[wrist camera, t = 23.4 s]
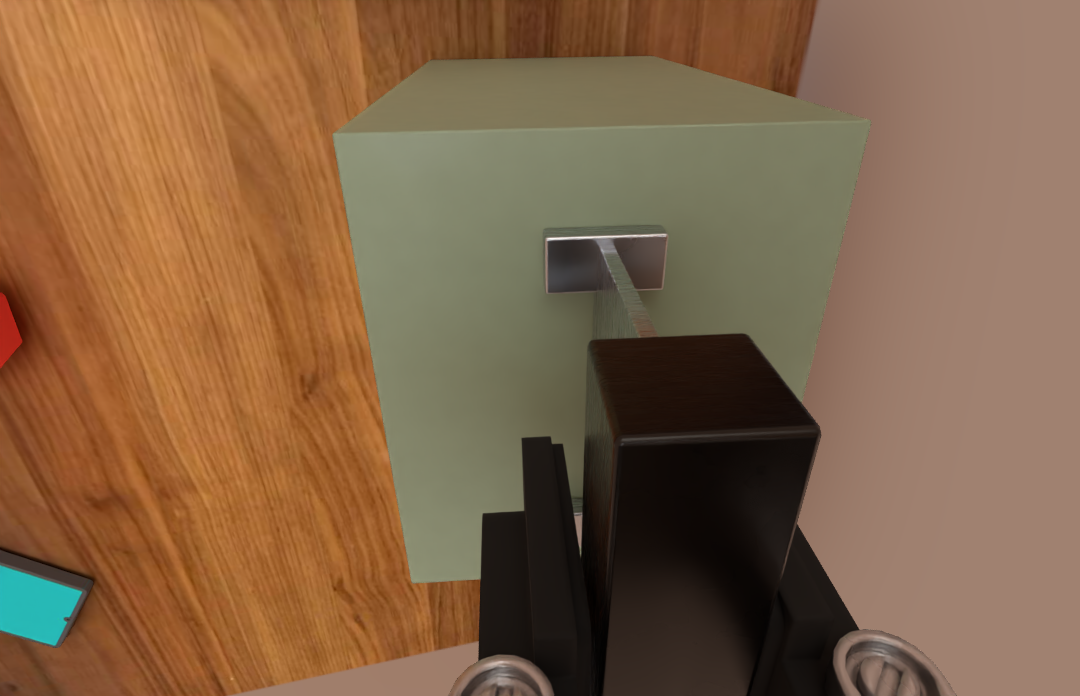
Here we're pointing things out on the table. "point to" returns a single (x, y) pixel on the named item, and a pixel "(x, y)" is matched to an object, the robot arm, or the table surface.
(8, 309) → the apple
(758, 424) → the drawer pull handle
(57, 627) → the smartphone
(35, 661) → the table surface
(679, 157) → the stand
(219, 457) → the table surface
